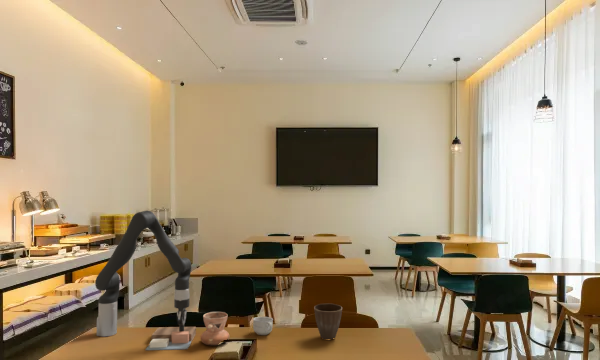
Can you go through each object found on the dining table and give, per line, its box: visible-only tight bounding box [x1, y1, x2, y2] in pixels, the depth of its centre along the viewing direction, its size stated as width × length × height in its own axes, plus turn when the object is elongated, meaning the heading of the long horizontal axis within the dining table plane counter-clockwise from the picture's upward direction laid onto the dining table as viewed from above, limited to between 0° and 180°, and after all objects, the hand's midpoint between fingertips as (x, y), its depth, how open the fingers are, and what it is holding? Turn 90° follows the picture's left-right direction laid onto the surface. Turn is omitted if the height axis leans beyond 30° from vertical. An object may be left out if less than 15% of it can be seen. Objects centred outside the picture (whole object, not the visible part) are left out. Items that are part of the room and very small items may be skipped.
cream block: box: [149, 338, 169, 348], centre depth 201 cm, size 8×5×2 cm, turn 94°
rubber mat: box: [145, 341, 192, 351], centre depth 202 cm, size 20×10×1 cm, turn 94°
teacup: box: [252, 316, 274, 336], centre depth 220 cm, size 14×11×8 cm
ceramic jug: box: [200, 311, 230, 346], centre depth 207 cm, size 18×14×14 cm
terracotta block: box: [172, 331, 189, 343], centre depth 205 cm, size 8×5×2 cm
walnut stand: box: [151, 326, 197, 343], centre depth 213 cm, size 20×12×4 cm, turn 94°
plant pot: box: [313, 303, 343, 340], centre depth 214 cm, size 15×15×16 cm
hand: (181, 331), depth 207 cm, fingers closed
